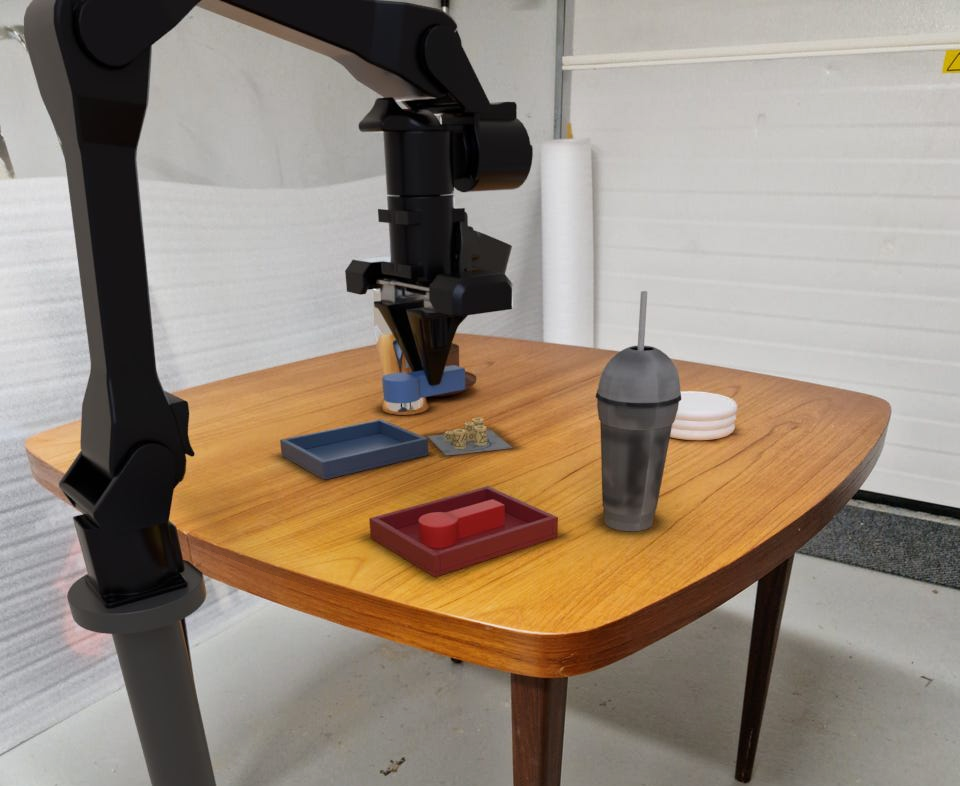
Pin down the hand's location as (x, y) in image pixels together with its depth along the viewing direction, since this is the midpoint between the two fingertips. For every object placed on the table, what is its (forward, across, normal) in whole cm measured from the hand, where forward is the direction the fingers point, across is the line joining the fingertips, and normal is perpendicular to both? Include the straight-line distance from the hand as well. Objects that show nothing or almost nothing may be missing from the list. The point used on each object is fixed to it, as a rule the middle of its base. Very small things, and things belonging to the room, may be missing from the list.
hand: (428, 382), depth 80 cm
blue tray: (+11, +16, 0) cm, 19 cm away
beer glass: (+11, +29, -15) cm, 34 cm away
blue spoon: (+1, 0, 0) cm, 1 cm away
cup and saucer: (+11, +34, -23) cm, 42 cm away
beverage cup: (+11, -17, -10) cm, 23 cm away
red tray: (+11, -11, +4) cm, 16 cm away
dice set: (+11, +12, -13) cm, 21 cm away
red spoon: (+11, -11, +4) cm, 16 cm away
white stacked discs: (+11, -1, -37) cm, 39 cm away
